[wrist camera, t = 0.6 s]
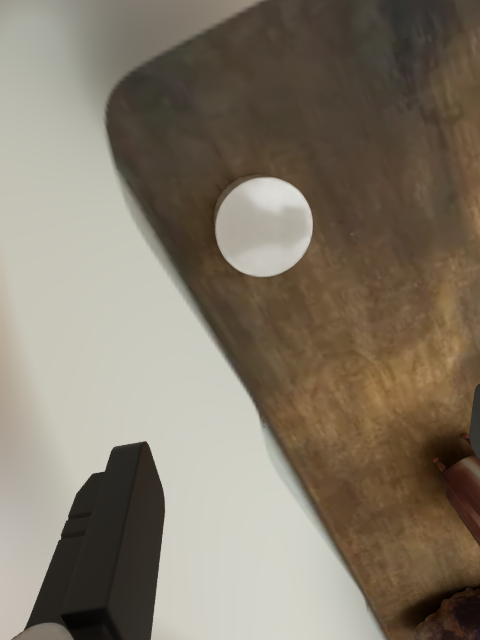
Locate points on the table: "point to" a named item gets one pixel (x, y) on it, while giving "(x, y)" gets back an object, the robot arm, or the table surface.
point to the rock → (453, 619)
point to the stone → (262, 225)
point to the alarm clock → (464, 489)
